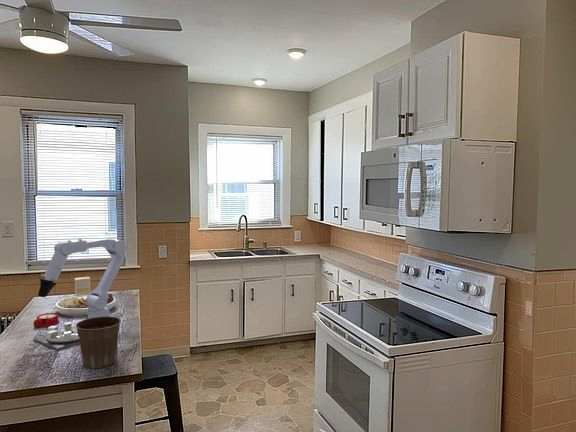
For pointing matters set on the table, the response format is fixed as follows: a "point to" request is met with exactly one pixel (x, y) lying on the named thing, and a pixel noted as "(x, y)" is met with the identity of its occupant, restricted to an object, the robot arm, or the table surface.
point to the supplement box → (82, 286)
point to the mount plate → (55, 345)
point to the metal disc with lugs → (62, 334)
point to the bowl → (79, 305)
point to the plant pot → (98, 341)
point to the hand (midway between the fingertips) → (41, 296)
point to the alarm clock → (46, 320)
